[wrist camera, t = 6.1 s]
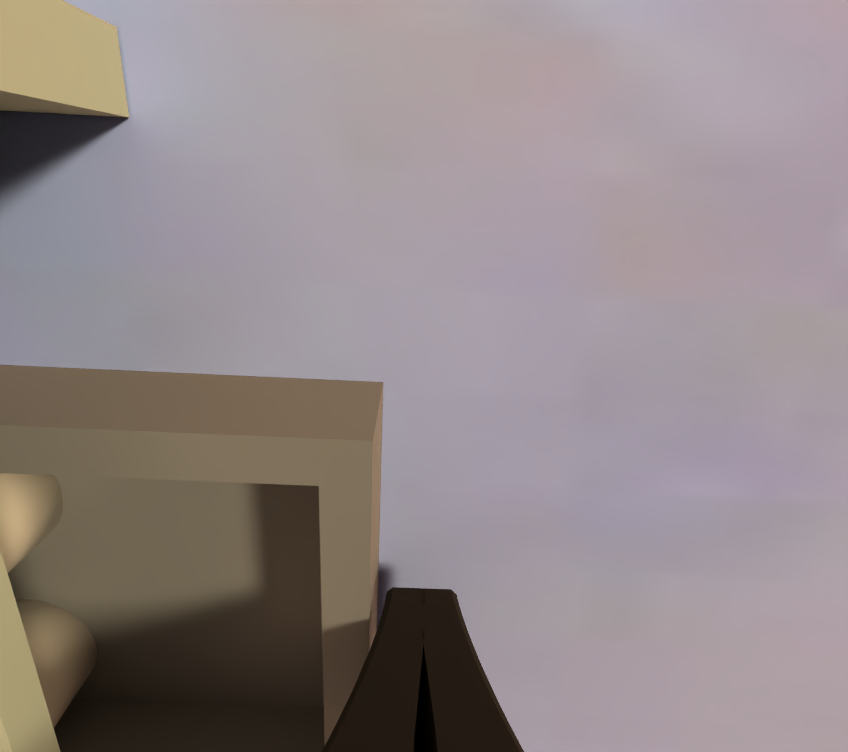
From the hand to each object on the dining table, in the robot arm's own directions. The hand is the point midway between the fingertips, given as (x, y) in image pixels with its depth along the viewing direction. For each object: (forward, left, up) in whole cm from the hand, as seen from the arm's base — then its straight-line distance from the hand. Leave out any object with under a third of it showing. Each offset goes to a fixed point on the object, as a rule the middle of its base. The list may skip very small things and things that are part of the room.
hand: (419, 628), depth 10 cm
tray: (0, +6, -2) cm, 7 cm away
